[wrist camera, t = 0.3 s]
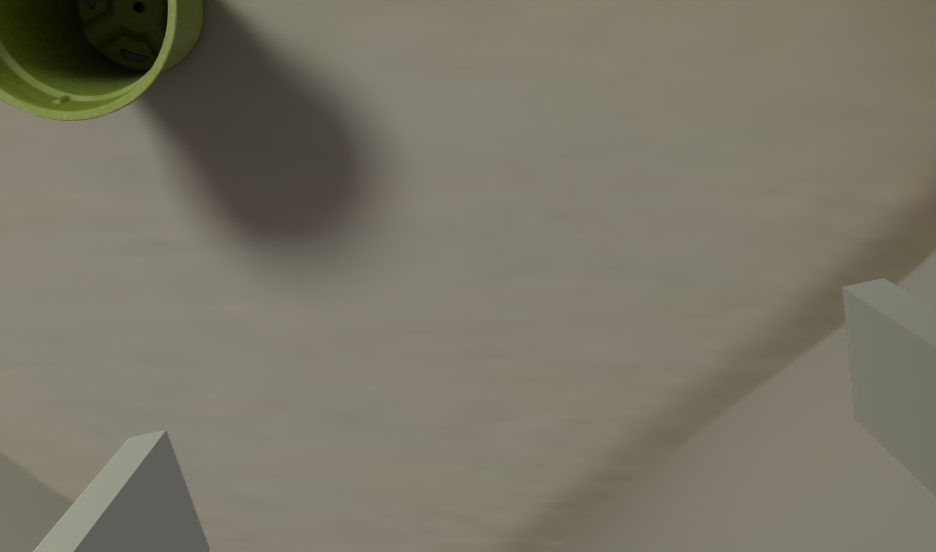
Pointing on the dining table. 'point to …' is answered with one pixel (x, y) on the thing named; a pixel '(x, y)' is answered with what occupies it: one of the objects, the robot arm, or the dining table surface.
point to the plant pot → (89, 52)
